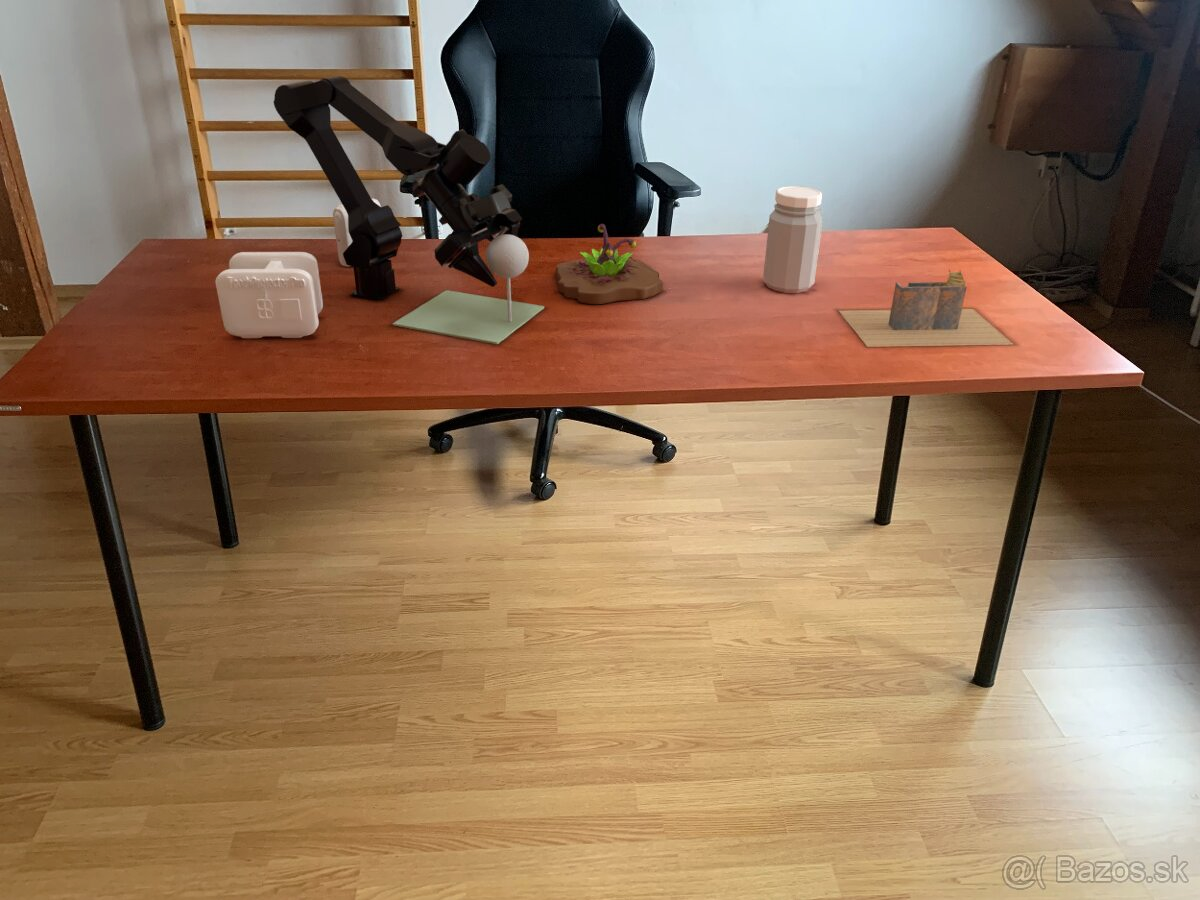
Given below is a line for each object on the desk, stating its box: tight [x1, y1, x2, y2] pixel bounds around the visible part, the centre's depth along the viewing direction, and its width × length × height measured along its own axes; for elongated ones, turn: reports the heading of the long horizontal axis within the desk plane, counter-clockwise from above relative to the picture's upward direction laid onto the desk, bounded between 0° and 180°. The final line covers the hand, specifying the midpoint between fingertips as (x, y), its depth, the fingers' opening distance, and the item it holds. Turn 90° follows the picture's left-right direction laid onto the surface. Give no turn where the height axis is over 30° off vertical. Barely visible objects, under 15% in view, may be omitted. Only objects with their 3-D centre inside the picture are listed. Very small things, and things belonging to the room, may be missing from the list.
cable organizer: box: [214, 251, 324, 339], centre depth 155 cm, size 15×11×12 cm
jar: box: [762, 185, 824, 294], centre depth 175 cm, size 10×10×18 cm
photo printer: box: [332, 197, 382, 268], centre depth 186 cm, size 10×4×12 cm, turn 141°
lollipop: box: [485, 235, 530, 322], centre depth 157 cm, size 7×7×15 cm
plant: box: [555, 223, 664, 305], centre depth 176 cm, size 20×20×11 cm
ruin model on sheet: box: [838, 269, 1015, 348], centre depth 160 cm, size 25×16×10 cm, turn 94°
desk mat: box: [392, 289, 545, 345], centre depth 164 cm, size 20×18×1 cm
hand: (510, 277), depth 157 cm, fingers open, 9 cm apart
